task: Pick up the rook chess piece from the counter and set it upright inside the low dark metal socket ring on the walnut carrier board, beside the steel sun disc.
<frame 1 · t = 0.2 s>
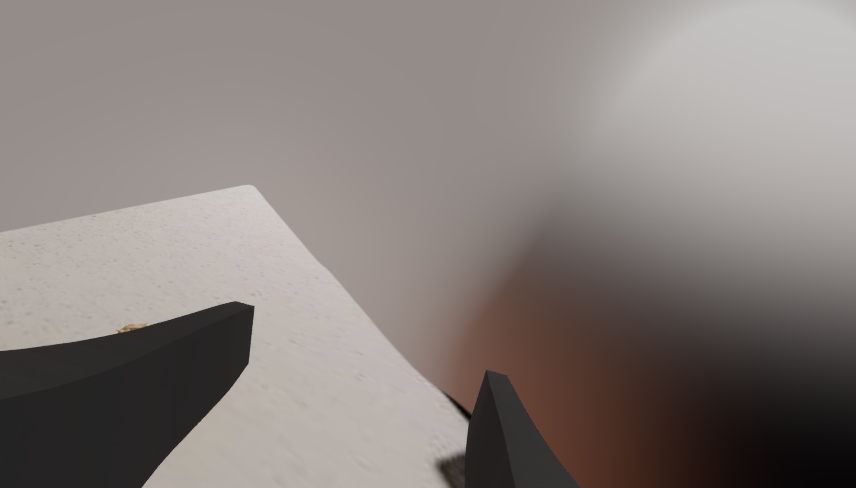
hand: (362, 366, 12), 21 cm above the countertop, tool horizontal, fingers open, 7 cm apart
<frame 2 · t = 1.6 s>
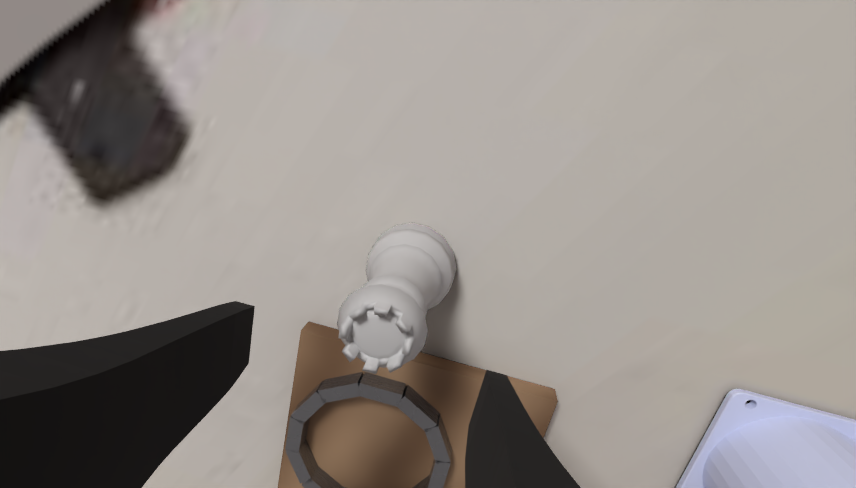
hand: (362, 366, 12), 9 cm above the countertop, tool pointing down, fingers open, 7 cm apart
rook chess piece: (414, 261, 21), on the countertop
carrier board: (396, 477, 25), on the countertop
socket ring: (370, 443, 24), resting on carrier board
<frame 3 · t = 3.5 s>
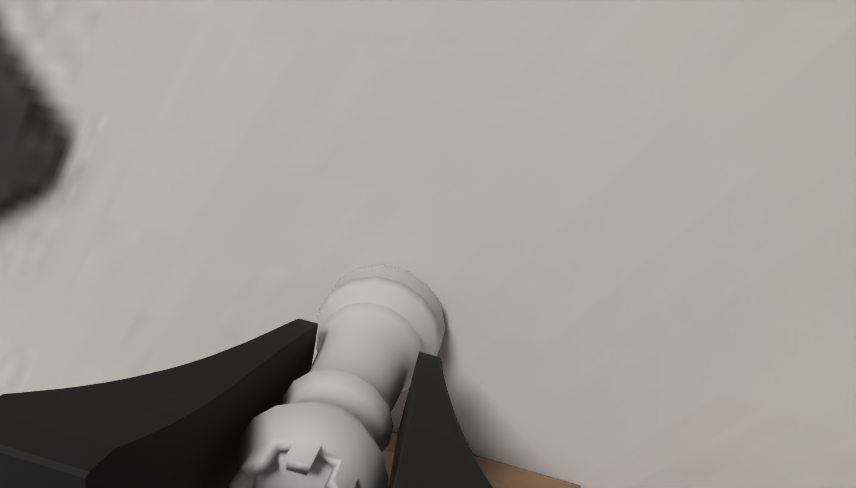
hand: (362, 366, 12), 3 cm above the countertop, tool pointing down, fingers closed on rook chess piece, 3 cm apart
rook chess piece: (387, 314, 15), on the countertop, touching gripper
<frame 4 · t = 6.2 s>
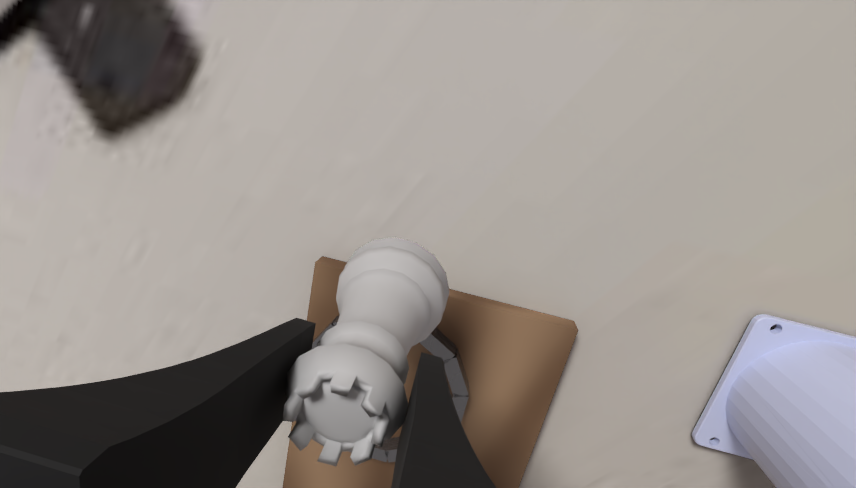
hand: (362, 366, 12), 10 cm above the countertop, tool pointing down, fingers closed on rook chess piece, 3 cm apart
rook chess piece: (397, 281, 17), point 5 cm above the countertop, touching gripper
carrier board: (411, 420, 25), on the countertop
socket ring: (385, 381, 23), resting on carrier board
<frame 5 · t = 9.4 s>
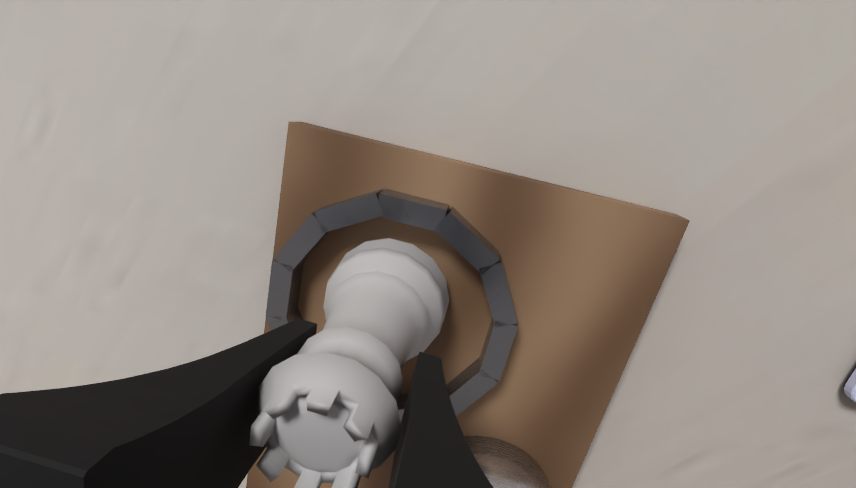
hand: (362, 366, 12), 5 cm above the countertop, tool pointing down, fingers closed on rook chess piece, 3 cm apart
rook chess piece: (392, 288, 16), point 1 cm above the countertop, touching carrier board, gripper
carrier board: (428, 372, 18), on the countertop
socket ring: (392, 309, 16), resting on carrier board
when the fingers open (5 cm above the countertop, at t = 10.3 s): rook chess piece stays where it is, resting on carrier board.
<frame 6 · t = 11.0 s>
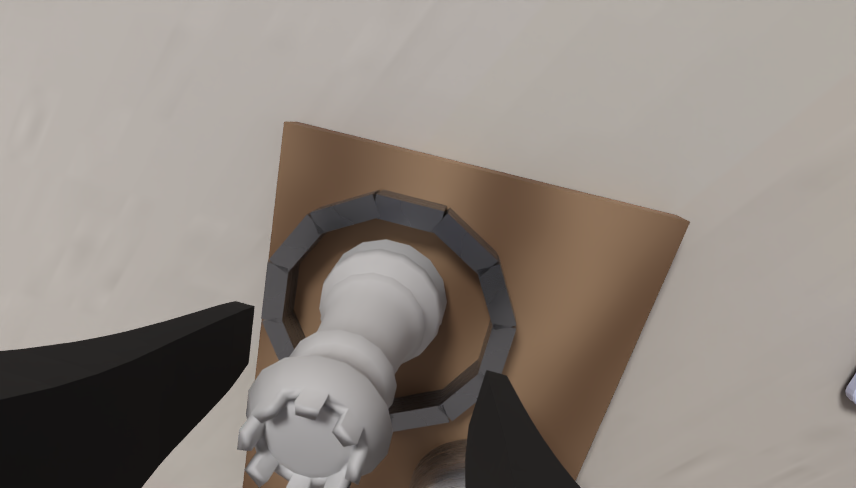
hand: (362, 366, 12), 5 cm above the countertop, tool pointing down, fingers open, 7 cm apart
rook chess piece: (390, 290, 16), point 1 cm above the countertop, touching carrier board
carrier board: (426, 374, 17), on the countertop
socket ring: (389, 311, 16), resting on carrier board
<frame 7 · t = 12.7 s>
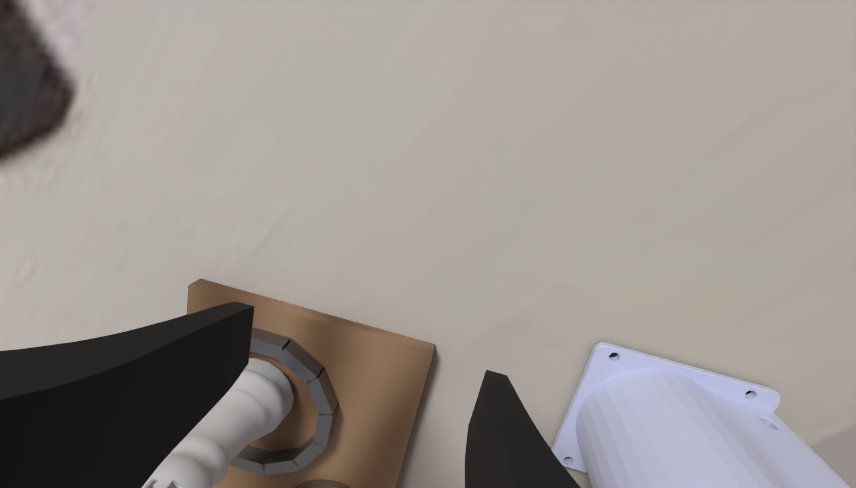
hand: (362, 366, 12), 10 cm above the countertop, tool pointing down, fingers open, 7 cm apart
rook chess piece: (262, 384, 24), point 1 cm above the countertop, touching carrier board
carrier board: (294, 435, 26), on the countertop
socket ring: (262, 398, 24), resting on carrier board
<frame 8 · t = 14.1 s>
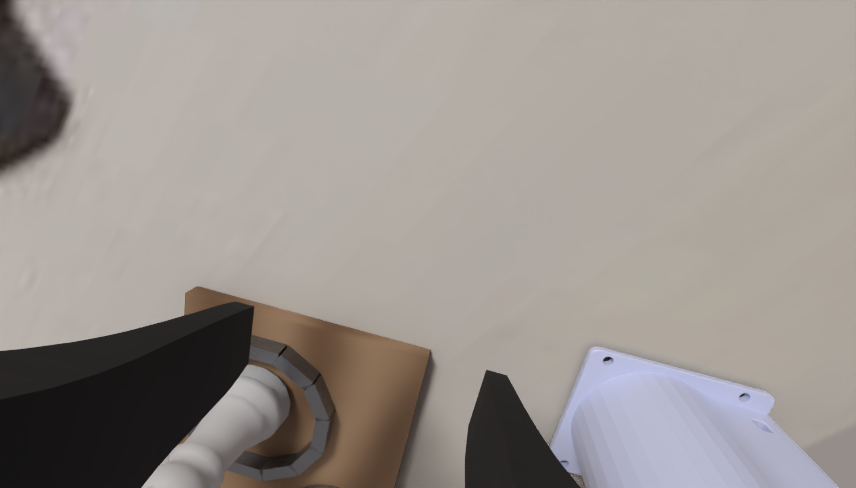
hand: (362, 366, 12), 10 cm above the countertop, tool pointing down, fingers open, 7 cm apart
rook chess piece: (259, 391, 24), point 1 cm above the countertop, touching carrier board
carrier board: (292, 440, 26), on the countertop
socket ring: (259, 404, 24), resting on carrier board
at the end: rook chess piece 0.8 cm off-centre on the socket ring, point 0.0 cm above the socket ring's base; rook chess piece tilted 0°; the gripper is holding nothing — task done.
